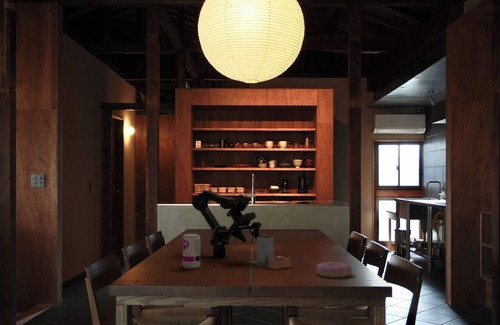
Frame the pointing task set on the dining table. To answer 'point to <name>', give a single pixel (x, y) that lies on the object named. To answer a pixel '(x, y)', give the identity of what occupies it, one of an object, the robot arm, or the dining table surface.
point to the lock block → (264, 248)
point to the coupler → (274, 263)
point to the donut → (333, 269)
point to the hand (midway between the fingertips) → (252, 241)
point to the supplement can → (191, 251)
